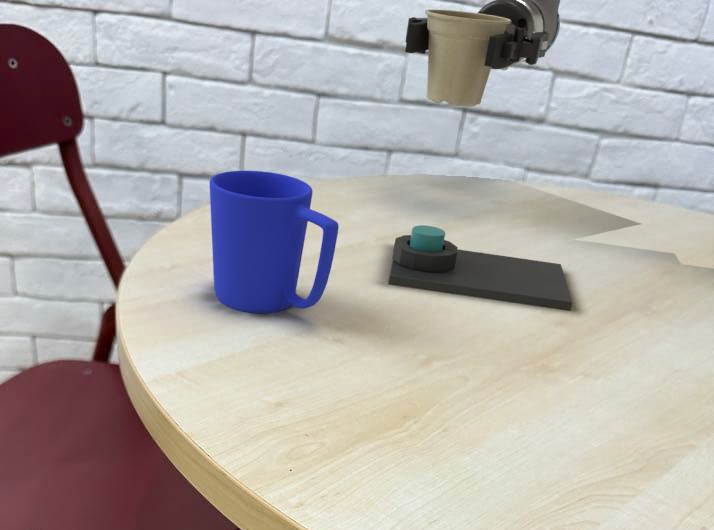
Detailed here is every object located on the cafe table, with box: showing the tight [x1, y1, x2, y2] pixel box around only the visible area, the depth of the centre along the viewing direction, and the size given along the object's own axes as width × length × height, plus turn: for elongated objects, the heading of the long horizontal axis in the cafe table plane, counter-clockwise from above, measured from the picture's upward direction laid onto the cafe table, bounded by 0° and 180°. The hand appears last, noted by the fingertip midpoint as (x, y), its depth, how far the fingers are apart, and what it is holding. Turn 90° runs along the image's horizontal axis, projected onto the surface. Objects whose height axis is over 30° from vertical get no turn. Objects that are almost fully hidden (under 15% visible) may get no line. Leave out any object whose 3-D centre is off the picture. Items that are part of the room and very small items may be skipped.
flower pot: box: [424, 8, 511, 108], centre depth 95 cm, size 9×9×9 cm
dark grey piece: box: [387, 234, 573, 311], centre depth 82 cm, size 17×11×3 cm, turn 82°
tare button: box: [409, 224, 446, 252], centre depth 82 cm, size 3×3×2 cm
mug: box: [209, 170, 339, 314], centre depth 69 cm, size 8×12×10 cm
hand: (449, 45), depth 91 cm, fingers closed on flower pot, 8 cm apart
